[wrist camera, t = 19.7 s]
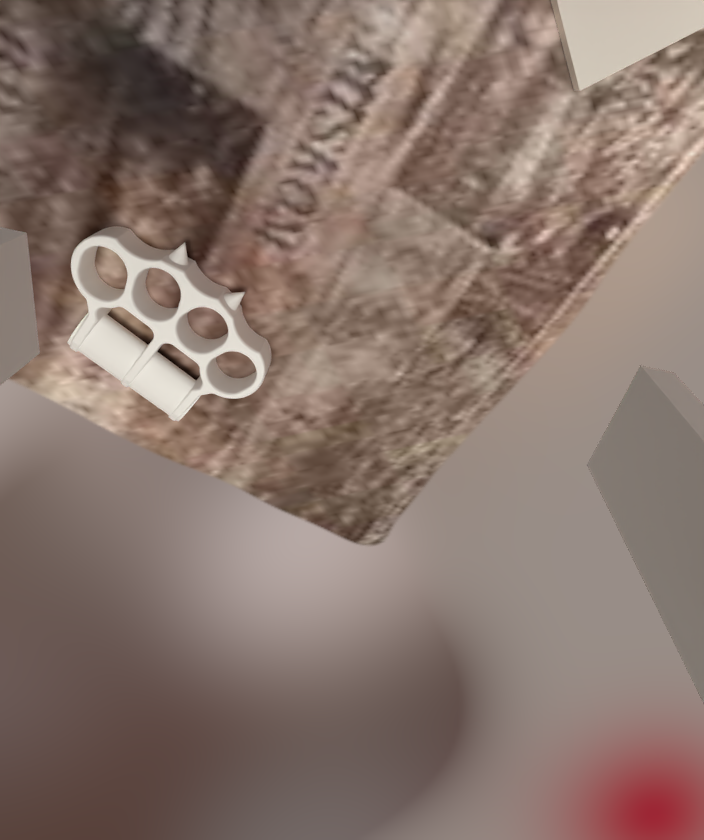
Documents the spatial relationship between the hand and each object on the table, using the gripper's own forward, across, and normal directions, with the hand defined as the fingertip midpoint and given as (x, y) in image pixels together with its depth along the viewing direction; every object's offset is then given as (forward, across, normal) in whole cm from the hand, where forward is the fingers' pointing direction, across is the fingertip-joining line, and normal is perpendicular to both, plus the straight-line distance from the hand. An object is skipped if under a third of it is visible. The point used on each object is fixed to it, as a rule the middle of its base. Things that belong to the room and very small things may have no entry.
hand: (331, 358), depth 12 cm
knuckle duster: (+35, -14, -17) cm, 42 cm away
